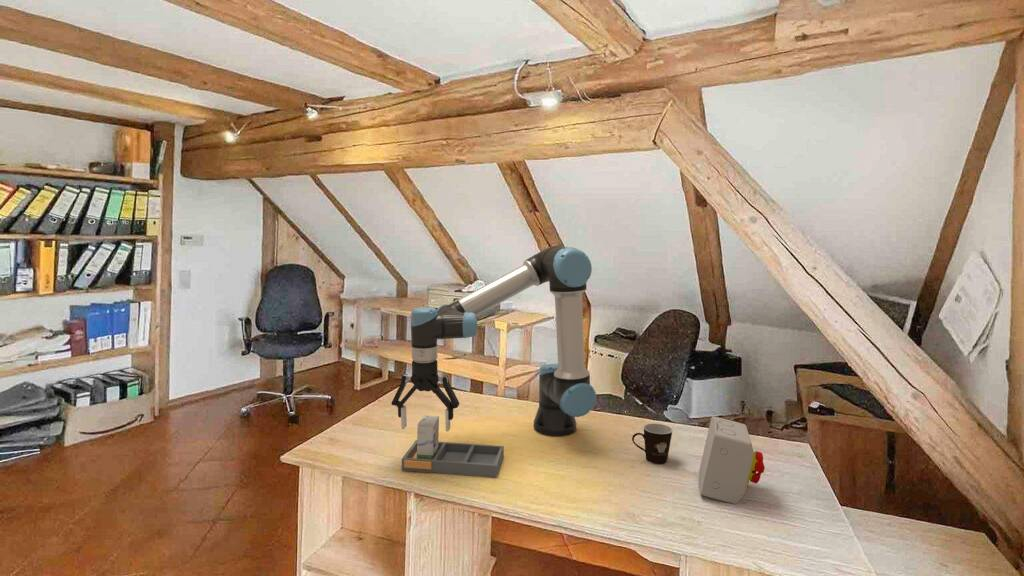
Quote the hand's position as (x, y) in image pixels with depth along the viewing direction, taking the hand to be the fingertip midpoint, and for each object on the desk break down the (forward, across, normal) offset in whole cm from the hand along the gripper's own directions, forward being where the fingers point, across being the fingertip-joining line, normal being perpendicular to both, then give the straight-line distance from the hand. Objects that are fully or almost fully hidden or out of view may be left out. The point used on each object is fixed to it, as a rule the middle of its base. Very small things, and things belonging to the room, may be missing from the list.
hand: (425, 428), depth 167 cm
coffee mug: (+11, +68, +13) cm, 70 cm away
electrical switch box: (+12, +87, -5) cm, 88 cm away
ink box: (+9, 0, 0) cm, 9 cm away
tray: (+10, +9, 0) cm, 13 cm away
